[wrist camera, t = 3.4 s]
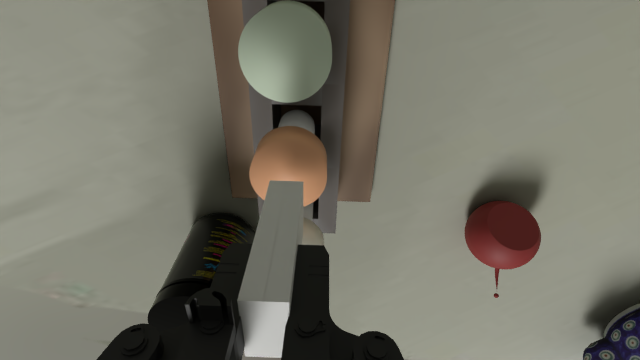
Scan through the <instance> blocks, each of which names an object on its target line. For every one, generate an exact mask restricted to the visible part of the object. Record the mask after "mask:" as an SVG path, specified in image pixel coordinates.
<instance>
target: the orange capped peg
mask: <svg viewBox="0 0 640 360" xmlns="http://www.w3.org/2000/svg"><path fill="white" fill-rule="evenodd" d="M249 177H250V182H251V185H252V187H253V189H254V190H255V192H256V193H257V194H258V195H259V196H260V197H261V198H262V199H263V200H265V196H266V193H267V189H268V185H269V182H270V180H273V181H302V182H303V207H304V206H307V205H309V204H311V203H312V202H314V201H315V200H316V199H318V198H319V197H320V195H321V194H322V193H323V191H324V189H325V186H326V183H327V154H326V150H325V147H324V145H323V143H322V142H321V141H320V139H319V138H318V137H317V136H316V135H315V123H314V120H313V119H312V117H311V116H310V115H309V114H308V113H306V112H304V111H302V110H291V111H289V112H287V113H285V114H284V115H283V116H282V118H281V120H280V123H279V126H278V128H276V129H273V130H271V131H270V132H268V133H267V134H266V135H265V136H264V137H263V138H262V139H261V141H260V142H259V144H258V146H257V149H256V152H255V154H254V157H253V160H252V163H251V166H250V171H249Z"/></svg>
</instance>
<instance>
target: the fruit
mask: <svg viewBox="0 0 640 360" xmlns="http://www.w3.org/2000/svg"><path fill="white" fill-rule="evenodd" d="M465 239H466V243H467V245H468V248H469V249H470V251H471V252H472V254H473V255H474V256H475V257H476V258H477V259H478V260H480V261H481V262H482V263H484V264H486V265H488V266H490V267H494V268H495V278H496V287H497V285H498V275H499V269H513V268H517V267H520V266H522V265H524V264H526V263H528V262H529V261H530V260H531V259H532V258H533V257H534V256H535V255H536V253H537V251H538V249H539V246H540V242H541V233H540V228H539V226H538V223H537V221H536V220H535V218H534V217H533V216H532V214H531V213H530V212H529V211H527V210H526V209H525V208H523V207H522V206H520V205H518V204H515V203H512V202H508V201H493V202H489V203H486V204H483V205H481V206H480V207H478V208H477V209H476V210H475V211H473V213H472V214H471V215H470V217H469V218H468V220H467V223H466V226H465ZM494 297H495V298H498V297H499V295H498V294H497V293H495V294H494Z"/></svg>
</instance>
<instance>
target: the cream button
mask: <svg viewBox="0 0 640 360" xmlns="http://www.w3.org/2000/svg"><path fill="white" fill-rule="evenodd" d="M312 218H313V202H312V203H311V204H309V205H307V206H304V207H303V238H302V245H324V239H323V234H322V231H321V230H320V228H319V227H318V226H317V225H316V224H315V223H314V222H312Z"/></svg>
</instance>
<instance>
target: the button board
mask: <svg viewBox="0 0 640 360" xmlns="http://www.w3.org/2000/svg"><path fill="white" fill-rule="evenodd" d="M207 1H208V9H209V17H210V25H211V33H212V40H213V48H214V56H215V64H216V72H217V80H218V88H219V96H220V104H221V112H222V120H223V127H224V135H225V143H226V151H227V159H228V167H229V175H230V183H231V191H232V198H258V209H259V219H260V215H261V211H262V208H263V204H264V200H263V199H262V198H261V197H260V196H259V195H258V194H257V193H256V192H255V190H254V189H253V187H252V185H251V182H250V177H249V171H250V166H251V163H252V160H253V157H254V154H255V152H256V149H257V146H258V144H259V142H260V141H261V139H262V138H263V137H264V136H265V135H266V134H267V133H268V132H270V131H271V130H273V129H276V128H278V126H279V123H280V120H281V118H282V116H283V115H284V114H285V113H287V112H289V111H291V110H302V111H304V112H306V113H308V114H309V115H310V116H311V117H312V119H313V120H314V123H315V135H316V136H317V137H318V138H319V139H320V141H321V142H322V143H323V145H324V147H325V150H326V154H327V183H326V186H325V189H324V191H323V193H322V194H321V195H320V197H319V198H318V199H316V200H315V201H314V202H313V218H312V222H314V223H315V224H316V225H317V226H318V227H319V228H320V230H321V231H322V233H335V229H336V214H337V201H357V202H370V198H371V190H372V182H373V174H374V166H375V158H376V149H377V141H378V133H379V125H380V117H381V109H382V101H383V93H384V85H385V77H386V69H387V61H388V53H389V45H390V36H391V28H392V20H393V12H394V4H395V0H290V1H297V2H300V3H303V4H305V5H307V6H309V7H311V8H312V9H313V10H315V11H316V12H317V13H318V14H319V15H320V16H321V18H322V19H323V20H324V22H325V24H326V25H327V28H328V30H329V33H330V37H331V43H332V65H331V69H330V73H329V75H328V78H327V79H326V81H325V83H324V84H323V86H322V87H321V88H320V89H319V90H318V91H317V92H316V93H315V94H313V95H312V96H310V97H309V98H306V99H304V100H301V101H298V102H290V103H285V102H278V101H274V100H271V99H269V98H267V97H265V96H263V95H262V94H260V93H259V92H257V91H256V90H255V89H254V88H253V87H252V86H251V85H250V83H249V82H248V81H247V79H246V78H245V76H244V74H243V72H242V69H241V66H240V63H239V57H238V46H239V40H240V36H241V34H242V31H243V29H244V27H245V26H246V24H247V23H248V22H249V20H250V19H251V18H252V17H253V16H254V15H256V14H257V13H258V12H259V11H261V10H262V9H263V8H265V7H266V6H268V5H270V4H272V3H275V2H278V1H285V0H207Z"/></svg>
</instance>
